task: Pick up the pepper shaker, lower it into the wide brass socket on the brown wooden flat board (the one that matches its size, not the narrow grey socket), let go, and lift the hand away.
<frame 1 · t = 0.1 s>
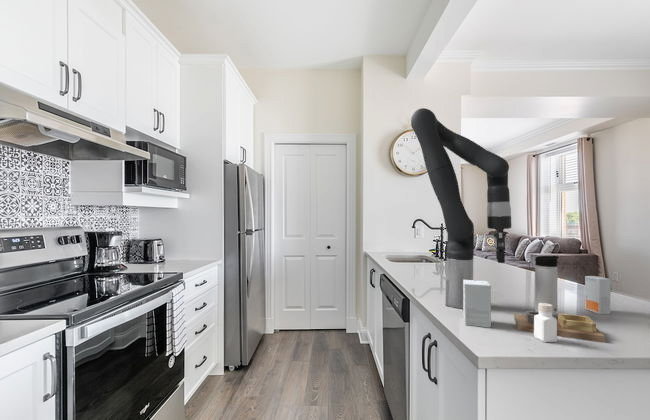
hand: (500, 261, 118), 17 cm above the countertop, tool pointing down, fingers open, 8 cm apart
skincare box: (597, 312, 117), on the countertop
supplement box: (476, 323, 103), on the countertop
pepper shaker: (545, 340, 90), on the countertop
brown wooden flat board: (555, 329, 98), on the countertop
travel mug: (546, 316, 112), on the countertop
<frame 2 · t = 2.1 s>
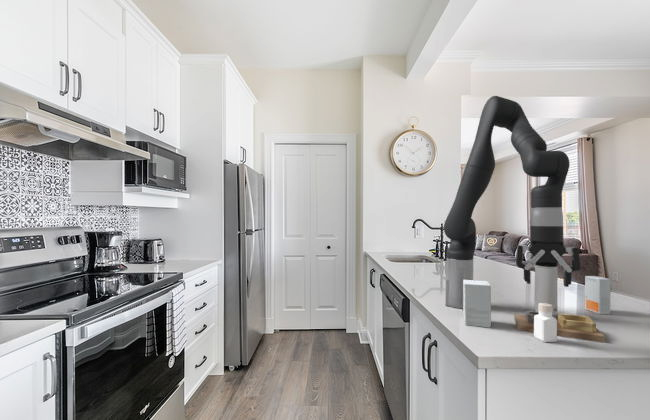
hand: (546, 284, 90), 15 cm above the countertop, tool pointing down, fingers open, 8 cm apart
nothing on the countertop moved.
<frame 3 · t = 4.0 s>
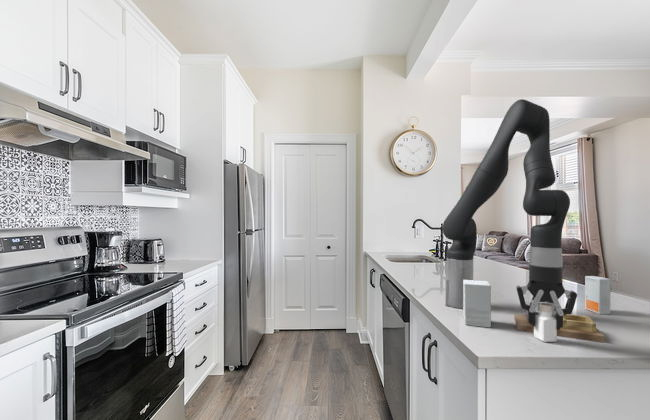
hand: (545, 327, 90), 3 cm above the countertop, tool pointing down, fingers closed on pepper shaker, 5 cm apart
pepper shaker: (545, 340, 90), on the countertop, touching gripper
everything else where it was.
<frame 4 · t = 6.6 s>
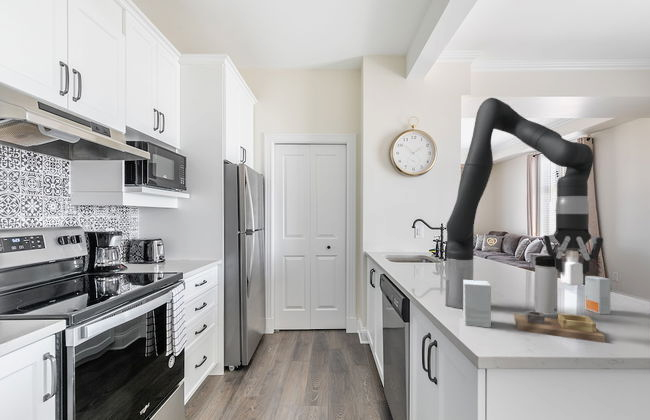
hand: (571, 272, 95), 17 cm above the countertop, tool pointing down, fingers closed on pepper shaker, 5 cm apart
pepper shaker: (571, 285, 95), point 14 cm above the countertop, touching gripper
everything else where it was.
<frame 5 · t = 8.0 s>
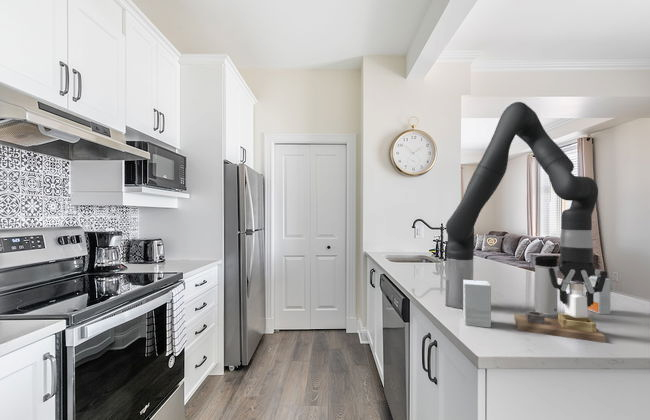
hand: (576, 304, 96), 8 cm above the countertop, tool pointing down, fingers closed on pepper shaker, 5 cm apart
pepper shaker: (576, 317, 96), point 4 cm above the countertop, touching gripper
everything else where it was.
when the fingers open (6 cm above the countertop, at t = 9.2 s): pepper shaker stays where it is, resting on brown wooden flat board.
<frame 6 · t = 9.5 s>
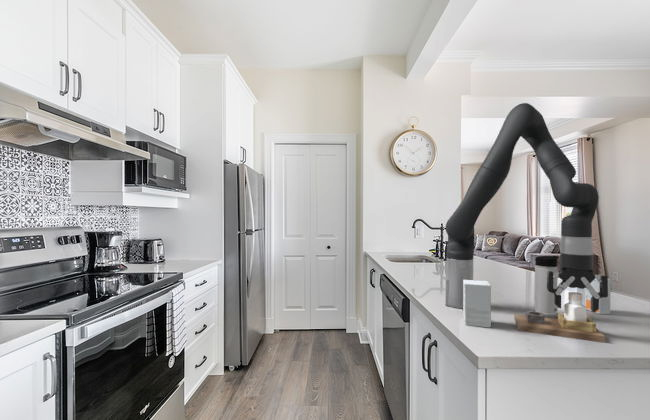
hand: (576, 309, 96), 7 cm above the countertop, tool pointing down, fingers open, 7 cm apart
pepper shaker: (575, 327, 96), point 1 cm above the countertop, touching brown wooden flat board
everything else where it was.
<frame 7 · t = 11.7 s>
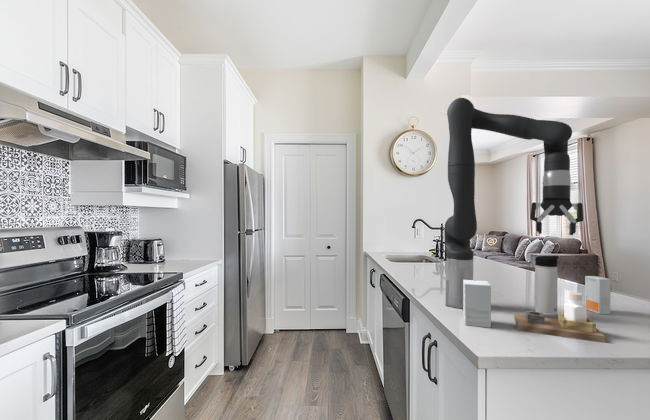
hand: (555, 234, 110), 27 cm above the countertop, tool pointing down, fingers open, 8 cm apart
nothing on the countertop moved.
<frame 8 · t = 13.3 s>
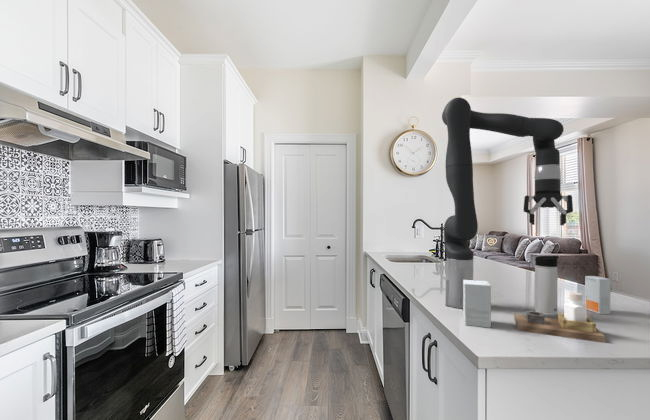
hand: (547, 225, 117), 30 cm above the countertop, tool pointing down, fingers open, 8 cm apart
nothing on the countertop moved.
at the end: pepper shaker 0.2 cm from the target spot on the brown wooden flat board, point 1.4 cm above the brown wooden flat board's base; pepper shaker tilted 0°; the gripper is holding nothing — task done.
